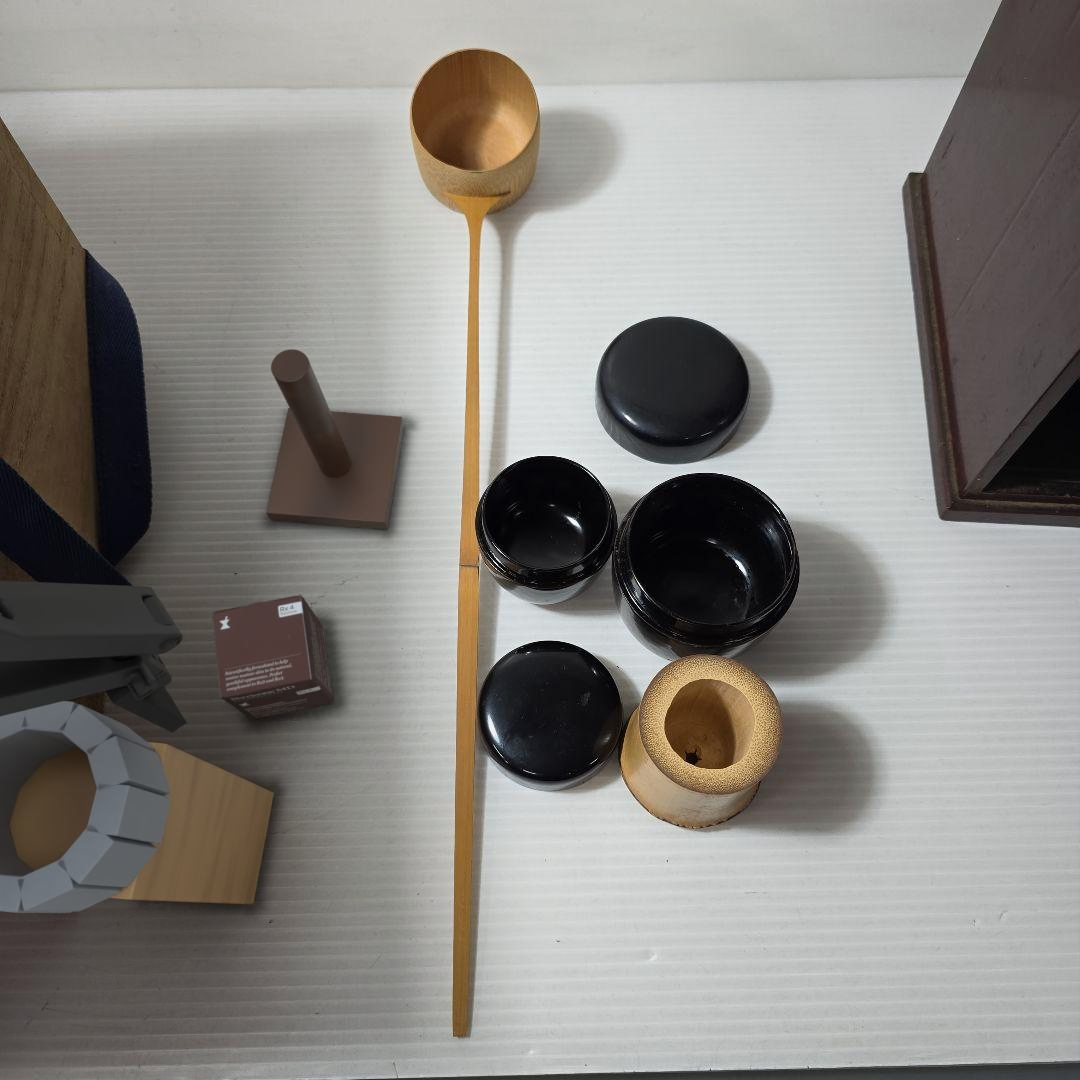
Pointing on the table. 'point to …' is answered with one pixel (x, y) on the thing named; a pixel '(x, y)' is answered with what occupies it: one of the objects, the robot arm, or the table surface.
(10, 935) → the table surface
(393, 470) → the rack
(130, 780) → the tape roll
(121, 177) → the table surface
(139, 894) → the stand
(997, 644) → the table surface
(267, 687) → the box
